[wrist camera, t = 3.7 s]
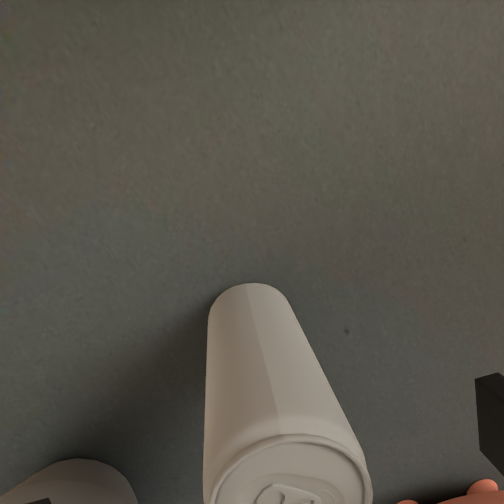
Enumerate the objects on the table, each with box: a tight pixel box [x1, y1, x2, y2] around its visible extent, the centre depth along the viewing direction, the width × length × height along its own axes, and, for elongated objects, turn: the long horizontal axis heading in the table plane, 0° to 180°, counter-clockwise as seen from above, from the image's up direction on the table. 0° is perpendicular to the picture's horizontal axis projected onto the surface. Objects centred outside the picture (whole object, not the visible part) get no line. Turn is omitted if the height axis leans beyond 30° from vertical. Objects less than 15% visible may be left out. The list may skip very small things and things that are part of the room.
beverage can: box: [203, 283, 373, 504], centre depth 16 cm, size 5×5×12 cm
